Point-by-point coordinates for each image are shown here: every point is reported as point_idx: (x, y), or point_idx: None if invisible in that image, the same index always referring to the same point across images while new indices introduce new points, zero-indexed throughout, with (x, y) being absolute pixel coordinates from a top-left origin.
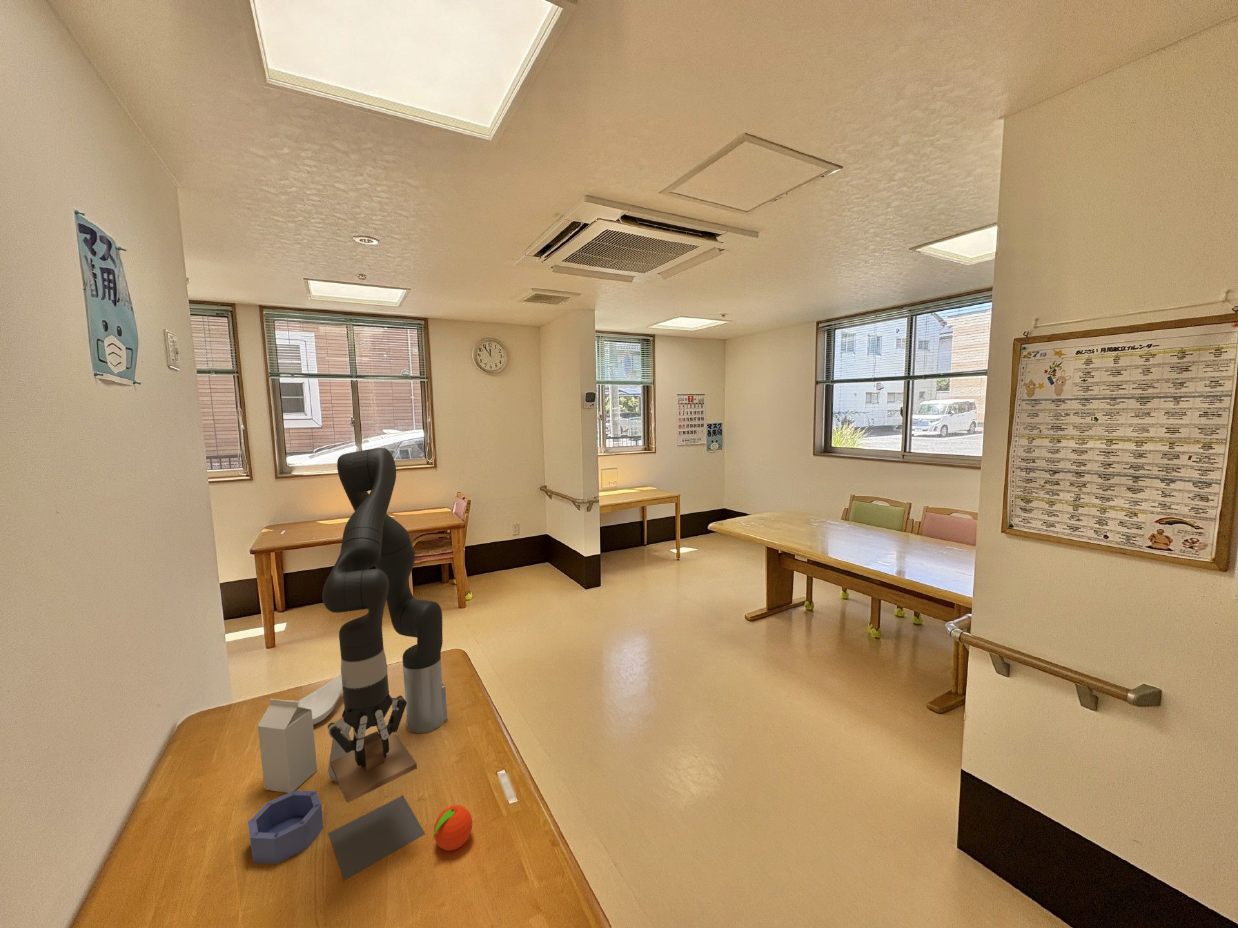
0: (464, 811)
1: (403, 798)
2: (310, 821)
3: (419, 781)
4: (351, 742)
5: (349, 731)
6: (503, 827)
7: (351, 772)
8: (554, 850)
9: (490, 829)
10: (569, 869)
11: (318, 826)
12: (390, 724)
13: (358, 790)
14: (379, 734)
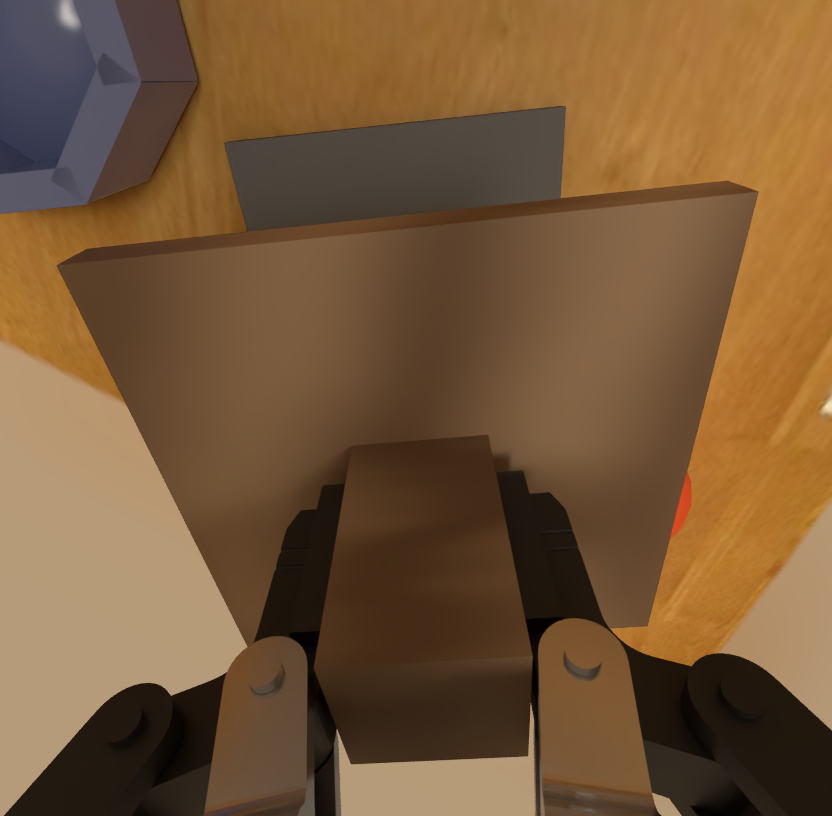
0: (674, 534)
1: (558, 134)
2: (113, 165)
3: (676, 22)
4: (202, 800)
5: None
6: (733, 476)
7: (269, 499)
8: (759, 583)
9: (704, 462)
10: (740, 623)
11: (169, 112)
12: (707, 783)
13: None
14: (534, 679)
